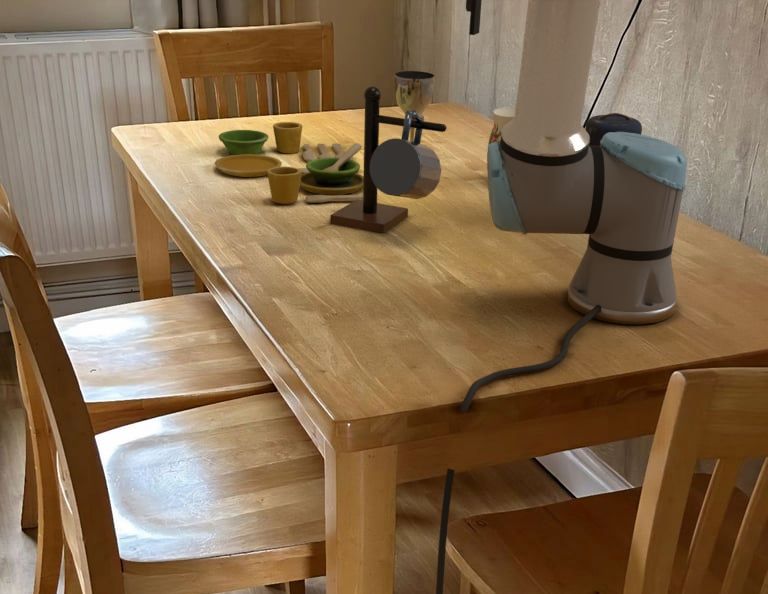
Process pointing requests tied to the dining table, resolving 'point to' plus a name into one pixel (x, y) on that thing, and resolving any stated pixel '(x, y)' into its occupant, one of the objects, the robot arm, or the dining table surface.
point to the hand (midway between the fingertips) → (513, 38)
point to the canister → (610, 126)
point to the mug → (405, 164)
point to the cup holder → (369, 210)
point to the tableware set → (285, 181)
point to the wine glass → (413, 92)
